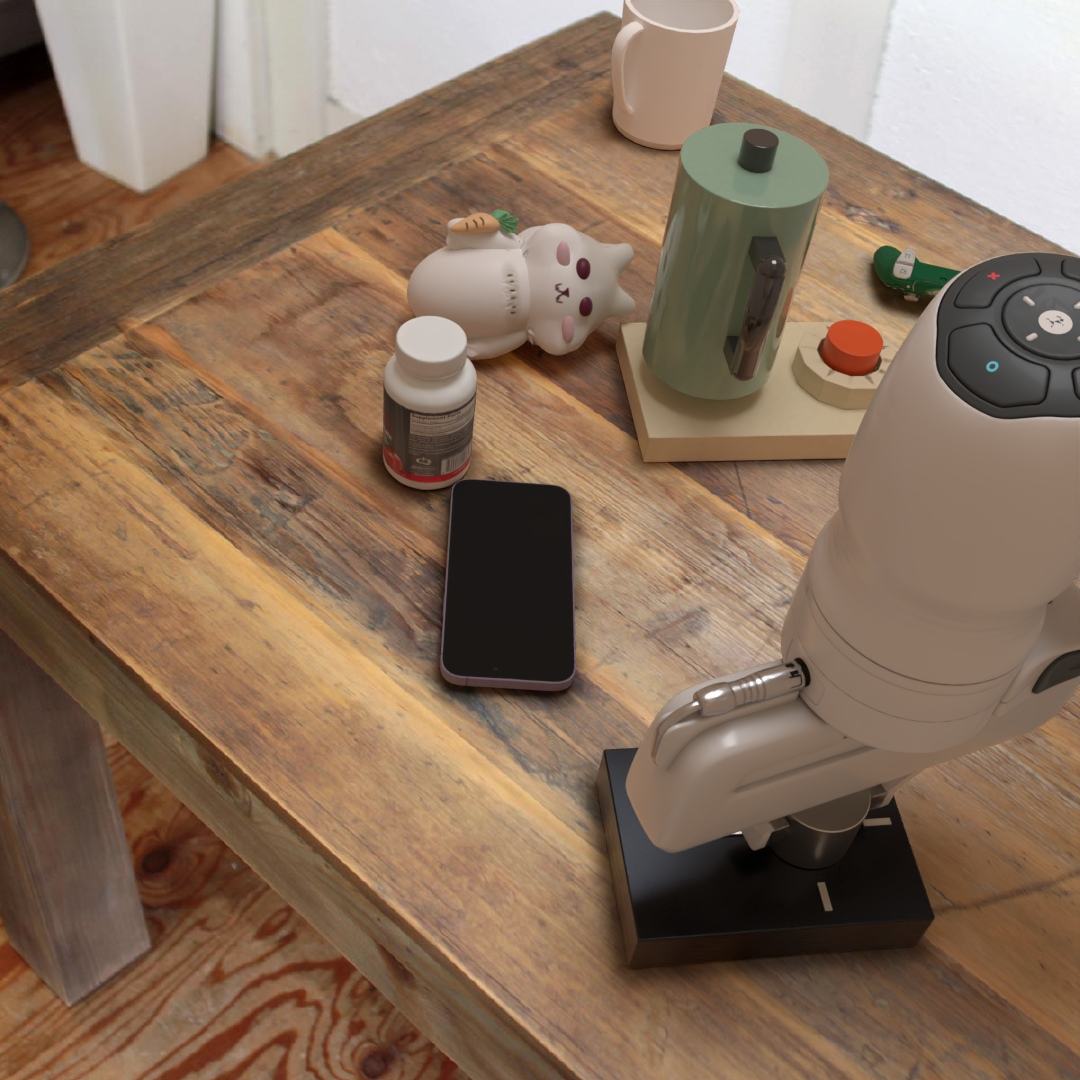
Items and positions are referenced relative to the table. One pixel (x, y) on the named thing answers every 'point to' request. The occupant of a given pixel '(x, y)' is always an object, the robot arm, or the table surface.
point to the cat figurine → (521, 284)
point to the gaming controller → (910, 273)
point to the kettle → (731, 258)
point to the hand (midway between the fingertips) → (812, 814)
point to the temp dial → (823, 831)
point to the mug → (669, 67)
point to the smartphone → (509, 587)
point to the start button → (852, 347)
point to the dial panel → (756, 890)
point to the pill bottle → (429, 404)
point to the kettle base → (752, 405)
